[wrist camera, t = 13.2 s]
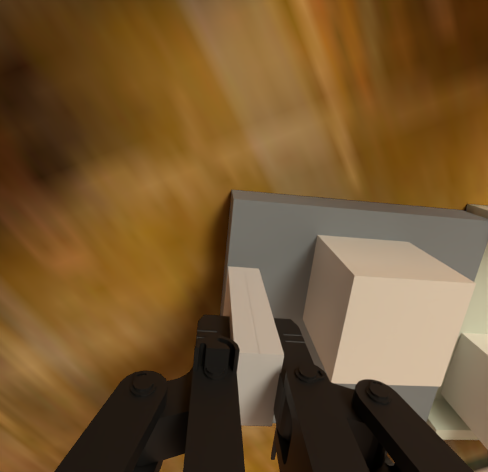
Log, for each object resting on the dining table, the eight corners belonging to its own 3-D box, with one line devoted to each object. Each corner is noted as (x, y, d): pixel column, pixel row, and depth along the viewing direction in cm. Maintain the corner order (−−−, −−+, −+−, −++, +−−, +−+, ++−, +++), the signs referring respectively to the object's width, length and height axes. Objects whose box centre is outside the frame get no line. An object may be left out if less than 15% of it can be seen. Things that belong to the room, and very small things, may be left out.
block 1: (302, 319, 19) (330, 383, 14) (317, 234, 18) (354, 275, 13) (386, 323, 20) (440, 386, 15) (408, 241, 18) (476, 283, 13)
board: (212, 391, 23) (212, 421, 21) (231, 189, 19) (233, 199, 17) (405, 396, 25) (425, 425, 22) (462, 210, 21) (494, 221, 18)
